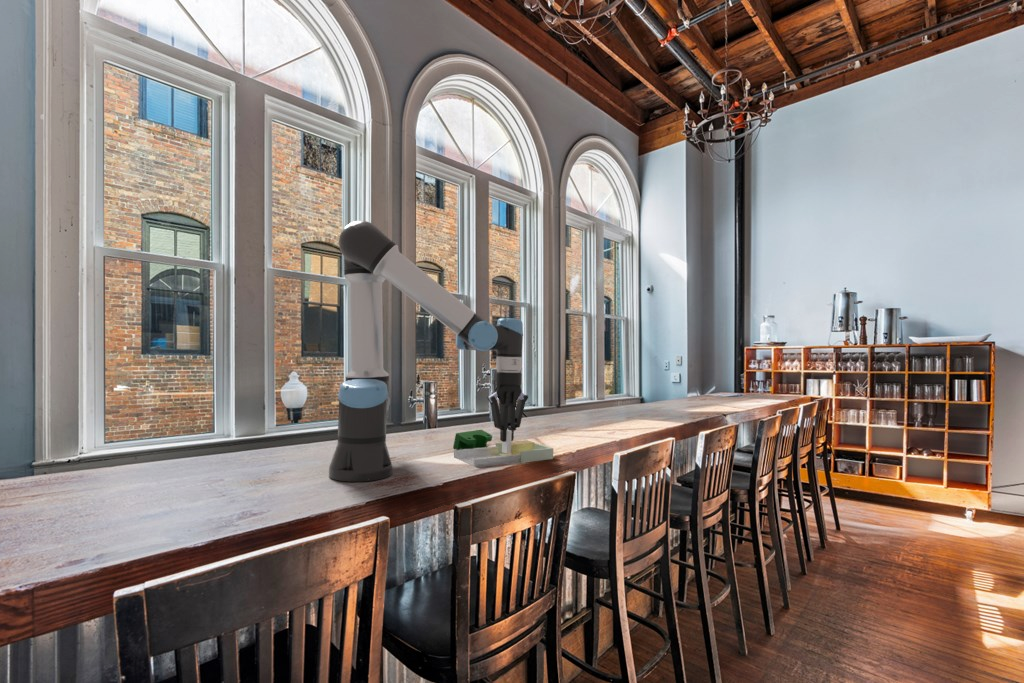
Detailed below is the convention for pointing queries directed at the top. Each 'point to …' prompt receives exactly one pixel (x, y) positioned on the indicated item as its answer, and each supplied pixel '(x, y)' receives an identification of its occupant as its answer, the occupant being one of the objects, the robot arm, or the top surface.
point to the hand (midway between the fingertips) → (506, 452)
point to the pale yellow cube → (527, 445)
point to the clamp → (471, 439)
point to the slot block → (485, 457)
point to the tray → (532, 453)
